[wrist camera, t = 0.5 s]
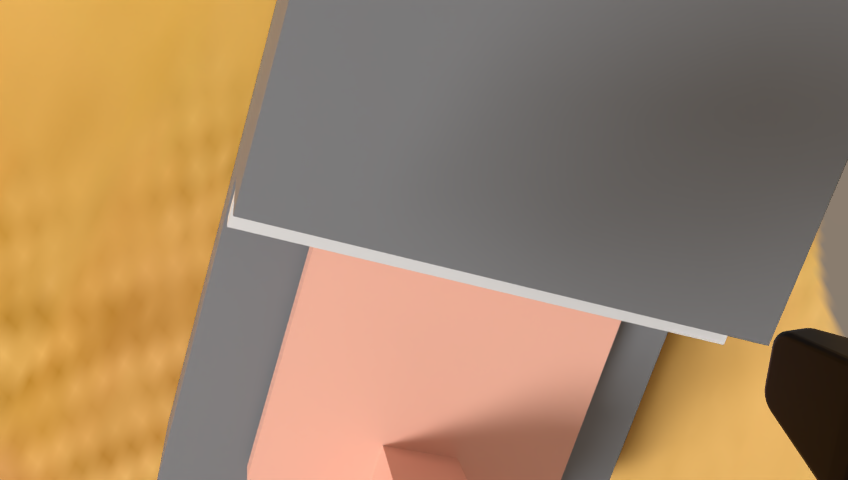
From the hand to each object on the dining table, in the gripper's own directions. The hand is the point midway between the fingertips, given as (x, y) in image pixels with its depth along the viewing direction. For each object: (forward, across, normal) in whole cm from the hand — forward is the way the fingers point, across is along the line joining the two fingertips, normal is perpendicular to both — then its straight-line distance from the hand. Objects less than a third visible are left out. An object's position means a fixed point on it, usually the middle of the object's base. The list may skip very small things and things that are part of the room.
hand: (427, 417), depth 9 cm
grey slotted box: (+13, -4, +2) cm, 14 cm away
